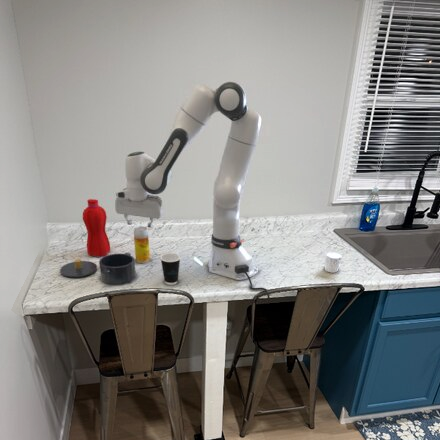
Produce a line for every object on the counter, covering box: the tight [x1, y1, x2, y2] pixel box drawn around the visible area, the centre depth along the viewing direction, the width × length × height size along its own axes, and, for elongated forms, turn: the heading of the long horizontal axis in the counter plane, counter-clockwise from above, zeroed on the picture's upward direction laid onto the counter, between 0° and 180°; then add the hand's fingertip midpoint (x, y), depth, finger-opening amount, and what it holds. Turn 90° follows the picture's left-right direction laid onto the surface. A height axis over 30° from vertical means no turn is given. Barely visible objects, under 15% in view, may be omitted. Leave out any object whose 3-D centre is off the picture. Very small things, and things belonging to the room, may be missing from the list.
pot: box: [98, 252, 137, 286], centre depth 163 cm, size 14×19×8 cm
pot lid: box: [59, 258, 98, 278], centre depth 167 cm, size 15×15×5 cm
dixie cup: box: [159, 252, 181, 286], centre depth 159 cm, size 8×8×11 cm
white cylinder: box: [324, 251, 343, 273], centre depth 175 cm, size 7×7×7 cm
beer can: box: [133, 226, 151, 264], centre depth 175 cm, size 6×6×15 cm
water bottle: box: [82, 198, 111, 258], centre depth 179 cm, size 9×11×25 cm
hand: (139, 225), depth 171 cm, fingers open, 8 cm apart
